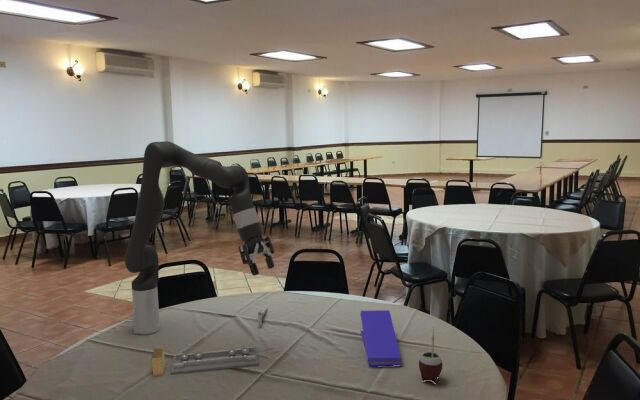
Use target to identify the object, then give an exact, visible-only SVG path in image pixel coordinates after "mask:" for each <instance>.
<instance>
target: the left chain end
mask: <svg viewBox="0 0 640 400" xmlns="http://www.w3.org/2000/svg"><path fill="white" fill-rule="evenodd" d="M215 351H216V350H214V351H204V352H203V351H197V352H193V353H184V352H183V353H176V354H175V356H176V359H181V363H174V369H178V368H184V367H187V366H197V365H207V364H215V358H212V359H202V358H204V357H214V356H215ZM194 358H195V360H192V361H188V359H194Z"/></svg>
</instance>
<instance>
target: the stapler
mask: <svg viewBox="0 0 640 400" xmlns="http://www.w3.org/2000/svg"><path fill="white" fill-rule="evenodd" d="M360 320H361V325H362V328H361V329H362V330H360V336H361V335H362V336H361V339H363V340H362V343H363V342H364V343H363V346H364V350H365V349H366V350H365V353H366V360H367V363H369V366H371V367H372V368H379V367H378V366H393V365H401V366H402V355H401V352H400V347H399V344H398V341H397V336H396V333H395V328H394V323H393V320H392V316H391V312H390V310H386V309H385V310H360ZM371 367H370V368H371Z"/></svg>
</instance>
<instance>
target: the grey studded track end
mask: <svg viewBox="0 0 640 400" xmlns="http://www.w3.org/2000/svg"><path fill="white" fill-rule="evenodd" d="M254 348H255V347H254V346H246V347H243V348H229V349H225V350H214V351H215V356H224V355H228V357H222V358H215V364H216V363H226V362H236V361H246V362H247V361H255V355H253V356H249V352H254ZM236 354H242V356H236Z"/></svg>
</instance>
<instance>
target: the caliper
mask: <svg viewBox="0 0 640 400" xmlns="http://www.w3.org/2000/svg"><path fill="white" fill-rule="evenodd" d="M268 309H269V308H268V307H264V309H262V311H258V312H257V327H258V329H260V328H262V324H263V323H262V322H263V320H264V316H265V315H266V313H267V312H268Z"/></svg>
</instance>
